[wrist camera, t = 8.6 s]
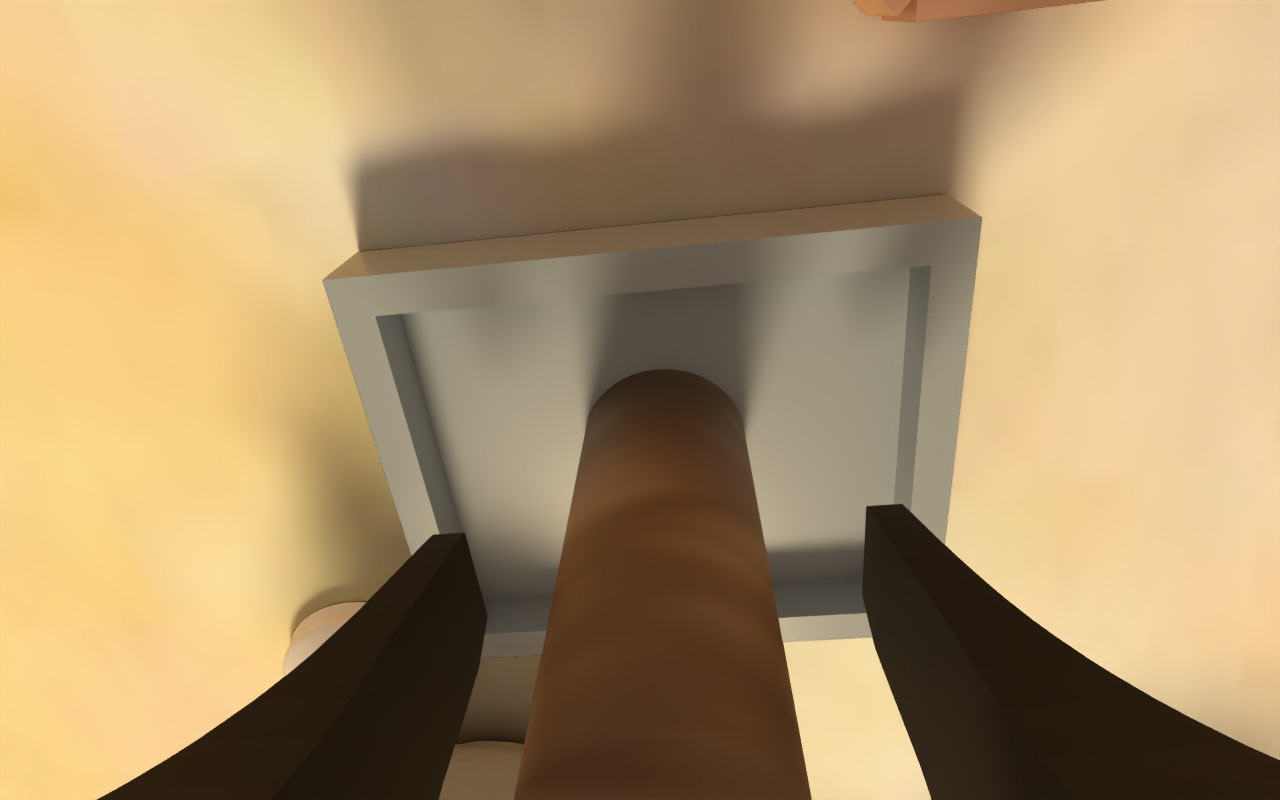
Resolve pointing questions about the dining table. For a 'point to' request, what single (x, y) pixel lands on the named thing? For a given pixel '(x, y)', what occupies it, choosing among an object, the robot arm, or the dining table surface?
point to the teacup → (483, 771)
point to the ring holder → (949, 8)
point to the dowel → (663, 615)
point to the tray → (680, 340)
